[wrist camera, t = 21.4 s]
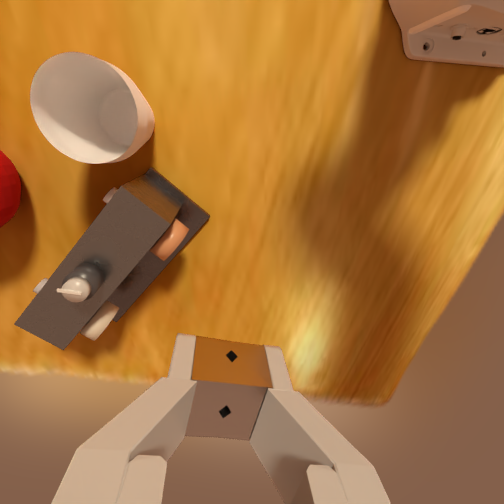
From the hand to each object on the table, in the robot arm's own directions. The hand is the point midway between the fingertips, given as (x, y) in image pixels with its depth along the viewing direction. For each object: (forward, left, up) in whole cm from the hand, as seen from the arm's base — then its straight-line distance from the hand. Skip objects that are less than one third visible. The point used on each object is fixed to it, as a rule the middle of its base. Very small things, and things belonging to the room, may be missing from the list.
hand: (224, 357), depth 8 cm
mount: (+11, +13, -34) cm, 38 cm away
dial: (+12, +12, -23) cm, 29 cm away
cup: (+13, -5, -34) cm, 37 cm away
